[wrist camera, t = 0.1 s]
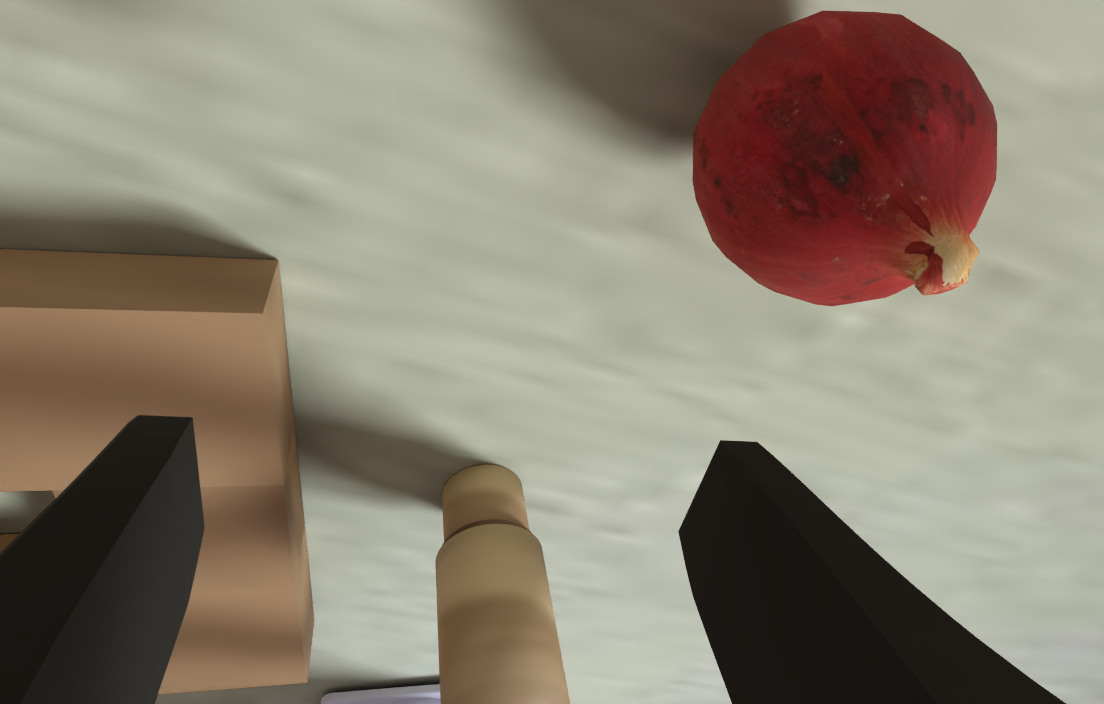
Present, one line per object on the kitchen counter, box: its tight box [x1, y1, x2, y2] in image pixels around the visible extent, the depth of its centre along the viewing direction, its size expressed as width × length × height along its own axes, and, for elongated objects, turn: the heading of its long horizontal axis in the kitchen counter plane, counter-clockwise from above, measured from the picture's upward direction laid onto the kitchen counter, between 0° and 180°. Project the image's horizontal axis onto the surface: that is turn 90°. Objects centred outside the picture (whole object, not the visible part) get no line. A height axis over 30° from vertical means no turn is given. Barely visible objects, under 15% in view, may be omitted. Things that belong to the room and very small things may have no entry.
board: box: [0, 249, 314, 694], centre depth 20 cm, size 16×16×2 cm
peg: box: [436, 465, 570, 704], centre depth 22 cm, size 3×3×8 cm
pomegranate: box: [693, 11, 997, 306], centre depth 15 cm, size 6×6×8 cm
